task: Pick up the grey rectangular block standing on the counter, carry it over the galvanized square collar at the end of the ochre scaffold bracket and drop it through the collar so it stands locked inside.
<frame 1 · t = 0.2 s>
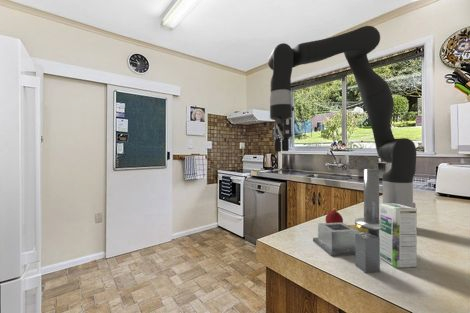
hand: (281, 151, 79), 29 cm above the counter, tool pointing down, fingers open, 8 cm apart
syrup box: (397, 263, 57), on the counter
bracket stand: (353, 246, 68), on the counter
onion: (334, 231, 82), on the counter
grey rectangular block: (367, 268, 54), on the counter
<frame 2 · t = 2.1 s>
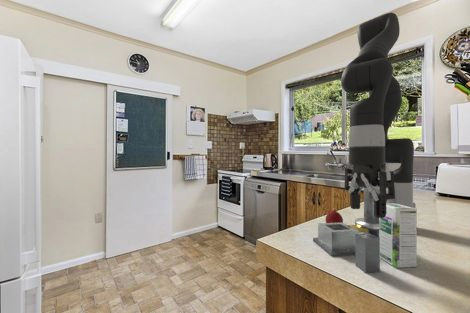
hand: (366, 212, 54), 14 cm above the counter, tool pointing down, fingers open, 8 cm apart
nothing on the counter moved.
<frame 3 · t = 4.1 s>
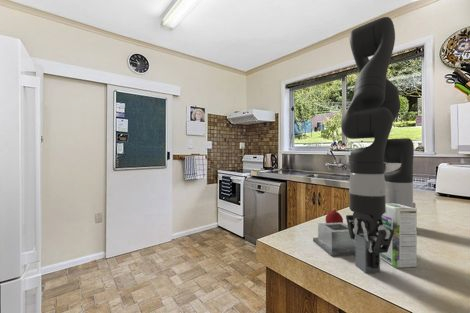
hand: (367, 263, 54), 1 cm above the counter, tool pointing down, fingers closed on grey rectangular block, 3 cm apart
grey rectangular block: (367, 268, 54), on the counter, touching gripper
everything else where it was.
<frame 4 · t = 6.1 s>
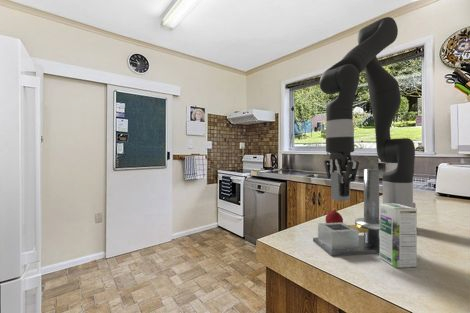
hand: (340, 194, 66), 16 cm above the counter, tool pointing down, fingers closed on grey rectangular block, 3 cm apart
grey rectangular block: (340, 199, 66), point 14 cm above the counter, touching gripper
everything else where it was.
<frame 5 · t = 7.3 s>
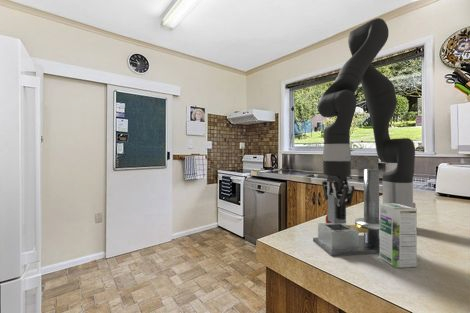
hand: (336, 217, 67), 9 cm above the counter, tool pointing down, fingers closed on grey rectangular block, 3 cm apart
grey rectangular block: (336, 221, 67), point 8 cm above the counter, touching gripper
everything else where it was.
when the fingers open (8 cm above the counter, at t = 8.1 s): grey rectangular block drops 6 cm, resting on bracket stand.
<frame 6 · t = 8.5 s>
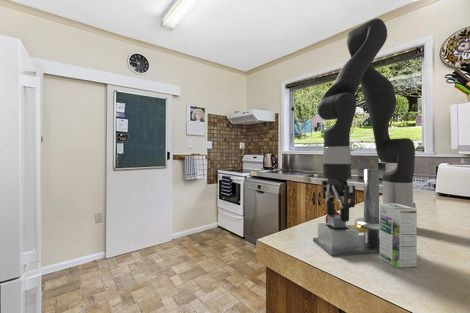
hand: (337, 217, 67), 9 cm above the counter, tool pointing down, fingers open, 7 cm apart
grey rectangular block: (336, 243, 68), point 1 cm above the counter, touching bracket stand
everything else where it was.
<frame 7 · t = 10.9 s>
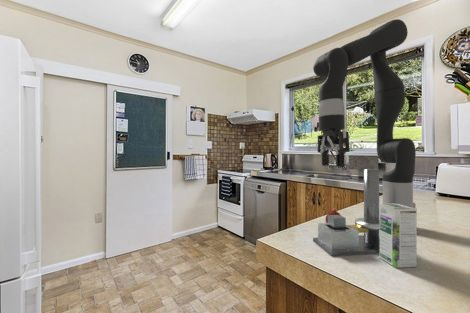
hand: (332, 166, 72), 24 cm above the counter, tool pointing down, fingers open, 8 cm apart
nothing on the counter moved.
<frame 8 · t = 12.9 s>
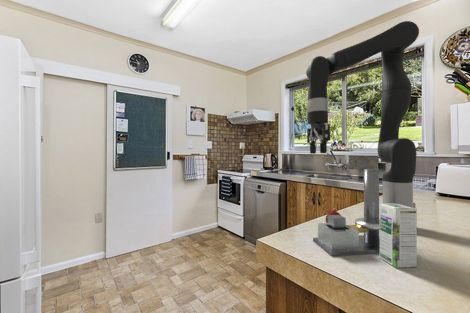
hand: (317, 153, 88), 28 cm above the counter, tool pointing down, fingers open, 8 cm apart
nothing on the counter moved.
at the end: grey rectangular block 0.4 cm from the target spot on the bracket stand, point 1.0 cm above the bracket stand's base; the gripper is holding nothing; grey rectangular block tilted 0° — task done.
